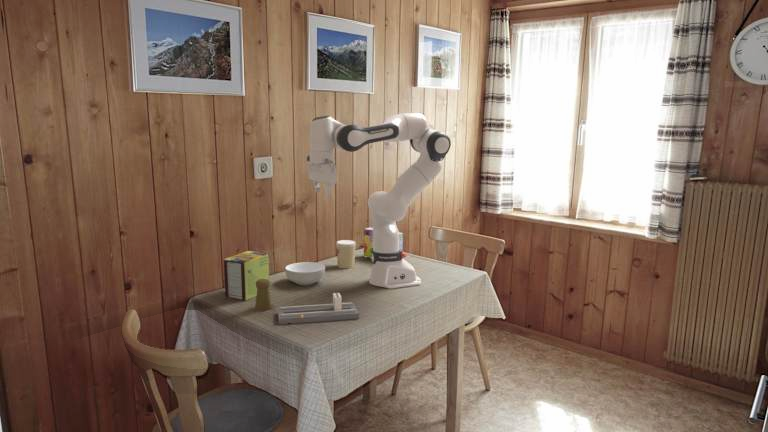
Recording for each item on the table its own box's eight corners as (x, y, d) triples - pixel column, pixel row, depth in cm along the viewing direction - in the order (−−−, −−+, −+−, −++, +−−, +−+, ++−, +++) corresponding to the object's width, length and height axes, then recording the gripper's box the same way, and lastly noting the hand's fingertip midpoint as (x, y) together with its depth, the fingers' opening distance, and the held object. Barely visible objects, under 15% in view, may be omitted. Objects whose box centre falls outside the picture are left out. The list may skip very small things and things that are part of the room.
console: (353, 307, 203) (353, 300, 202) (358, 318, 192) (359, 311, 192) (277, 313, 196) (277, 305, 196) (278, 324, 186) (278, 316, 185)
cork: (256, 305, 204) (255, 277, 202) (272, 304, 205) (271, 277, 203) (254, 310, 198) (253, 282, 196) (270, 310, 199) (269, 281, 197)
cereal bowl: (332, 280, 236) (332, 264, 235) (311, 291, 221) (311, 274, 220) (299, 274, 243) (299, 259, 242) (277, 285, 228) (277, 269, 227)
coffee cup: (338, 263, 262) (338, 239, 260) (357, 264, 261) (357, 240, 259) (334, 268, 253) (334, 243, 251) (353, 269, 252) (353, 244, 250)
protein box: (269, 289, 222) (269, 253, 219) (245, 301, 208) (244, 262, 205) (249, 286, 226) (248, 250, 224) (224, 297, 213) (222, 259, 210)
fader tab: (339, 305, 198) (339, 292, 197) (341, 310, 193) (341, 296, 192) (332, 306, 198) (332, 292, 197) (334, 311, 193) (334, 297, 192)
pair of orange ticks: (300, 306, 198) (300, 305, 198) (303, 317, 187) (303, 316, 187) (298, 306, 198) (298, 305, 198) (301, 317, 187) (301, 316, 187)
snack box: (403, 262, 266) (403, 232, 263) (396, 264, 262) (396, 234, 259) (369, 255, 279) (370, 226, 276) (362, 257, 275) (363, 228, 272)
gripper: (341, 160, 203) (341, 196, 206) (318, 156, 220) (319, 189, 223) (325, 160, 200) (326, 197, 202) (304, 156, 217) (305, 190, 220)
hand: (322, 193), depth 213 cm, fingers open, 8 cm apart
